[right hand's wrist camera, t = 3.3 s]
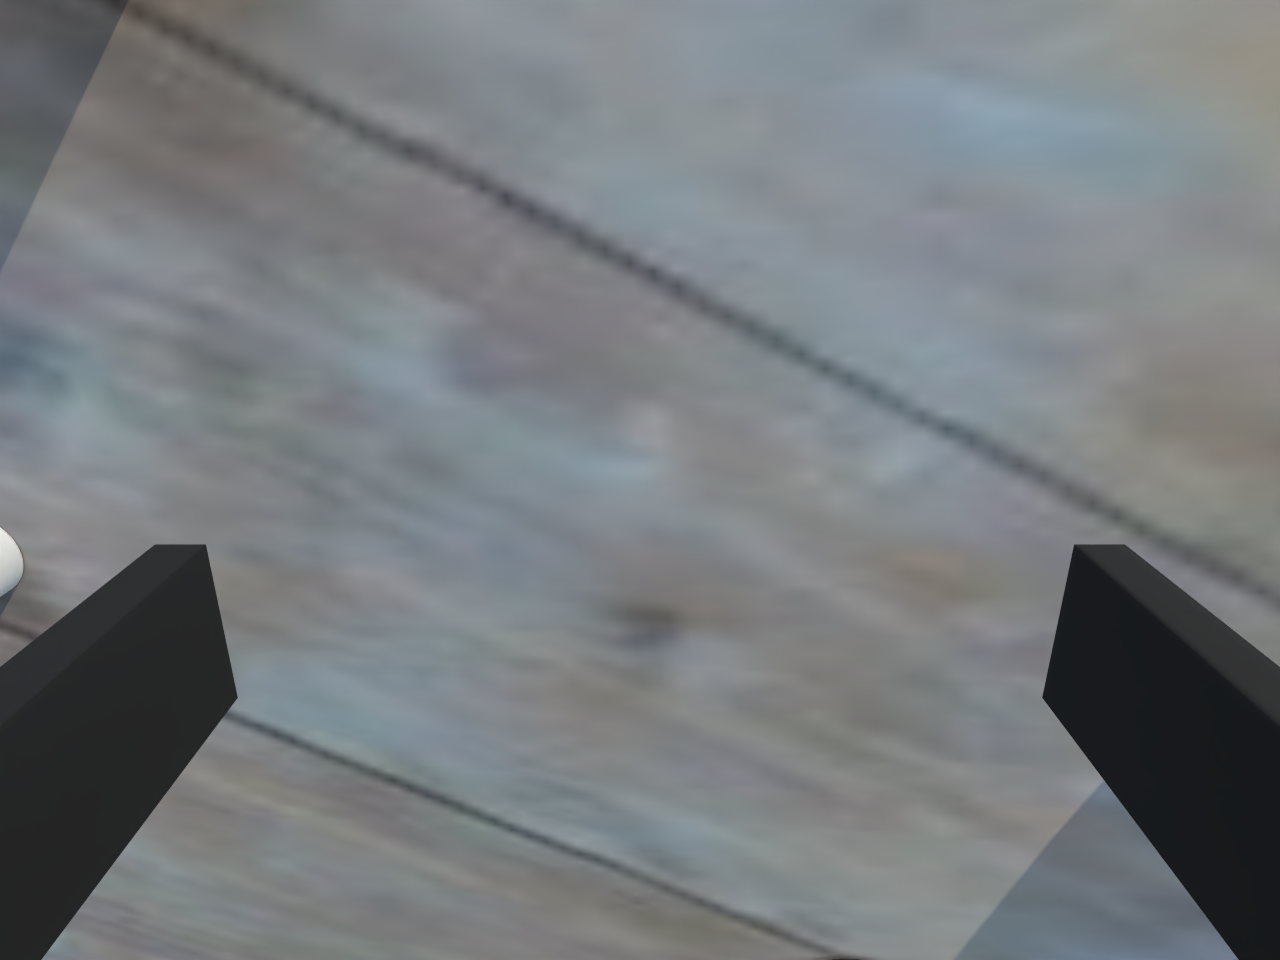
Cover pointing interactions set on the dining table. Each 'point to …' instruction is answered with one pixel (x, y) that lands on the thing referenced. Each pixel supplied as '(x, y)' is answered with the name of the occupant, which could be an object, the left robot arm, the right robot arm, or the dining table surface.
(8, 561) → the white cylinder
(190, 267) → the dining table surface
